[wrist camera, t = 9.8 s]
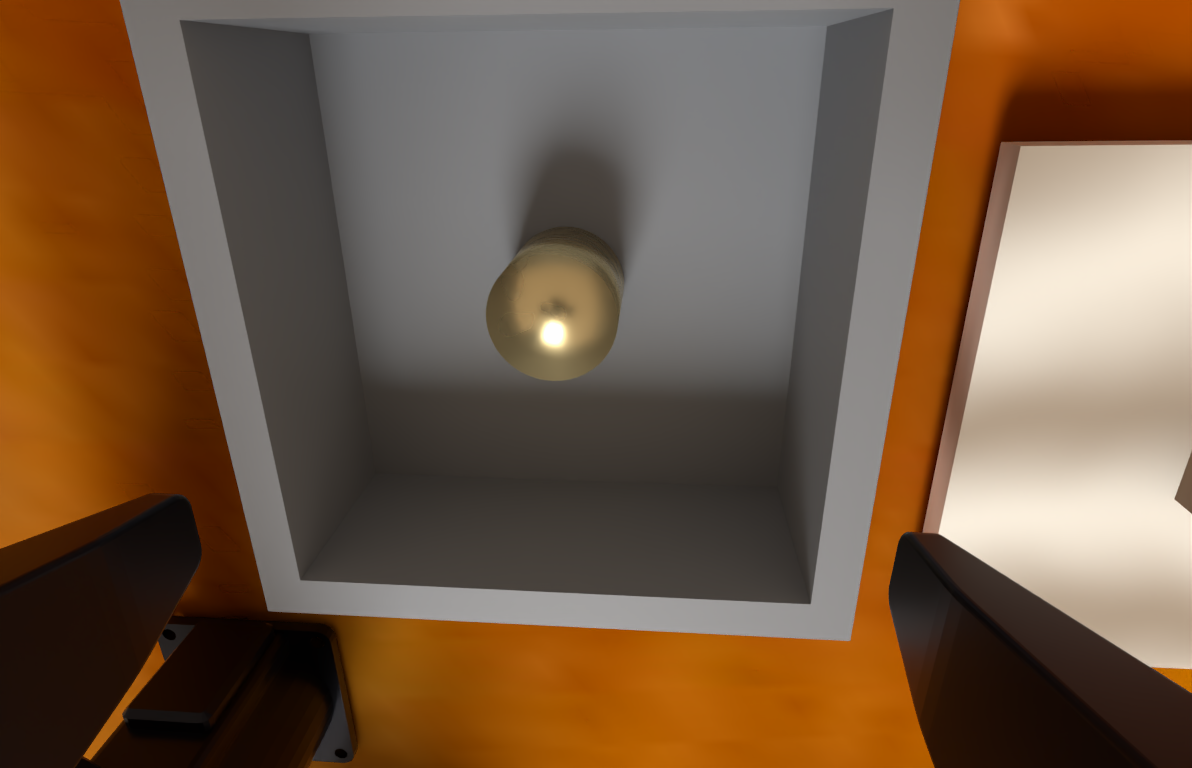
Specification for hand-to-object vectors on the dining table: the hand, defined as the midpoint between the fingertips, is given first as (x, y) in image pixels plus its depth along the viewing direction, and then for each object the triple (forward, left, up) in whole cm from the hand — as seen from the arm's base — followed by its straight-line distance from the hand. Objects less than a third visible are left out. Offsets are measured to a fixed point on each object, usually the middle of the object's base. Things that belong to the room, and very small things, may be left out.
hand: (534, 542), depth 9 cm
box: (0, +1, -12) cm, 12 cm away
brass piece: (0, +1, -11) cm, 11 cm away
